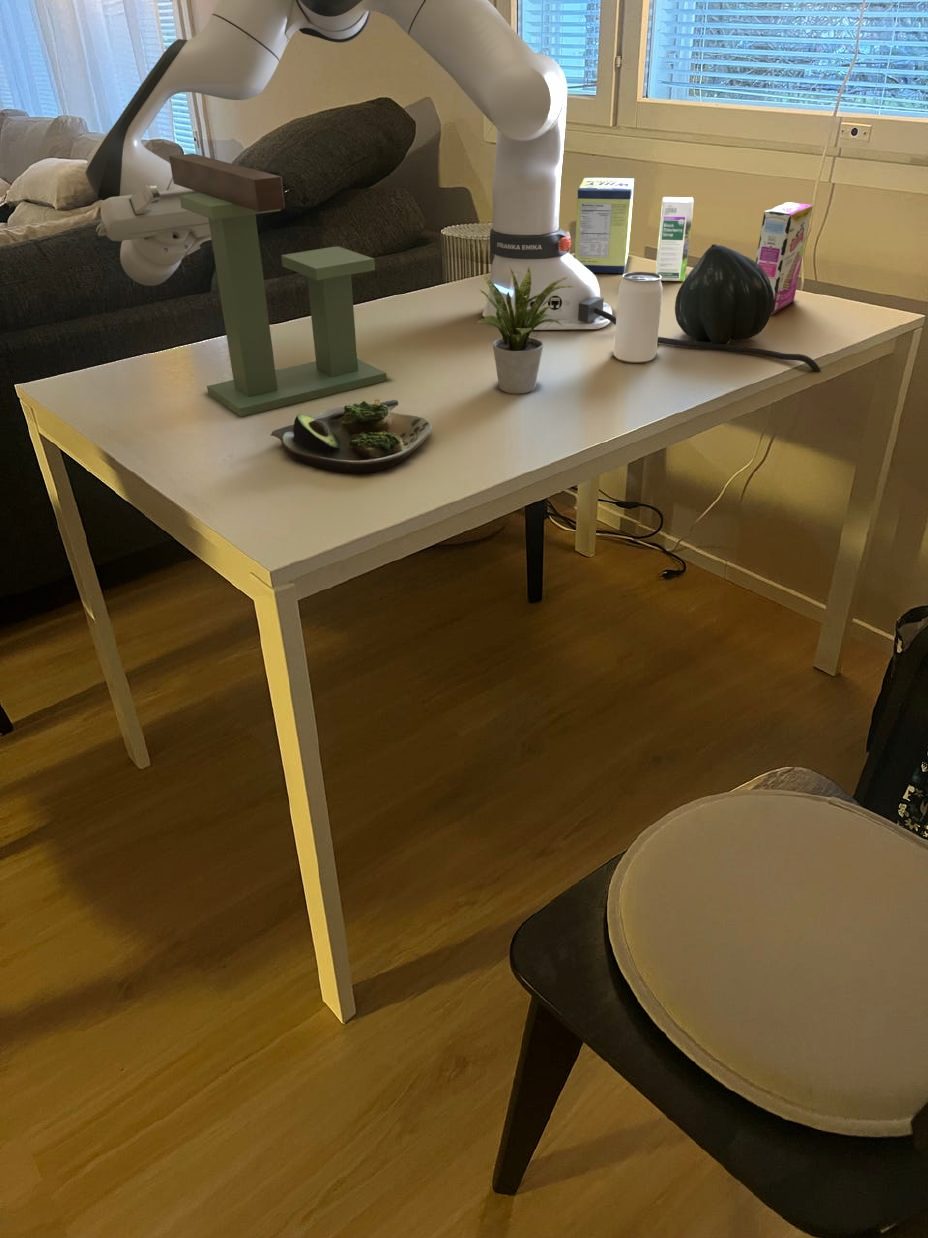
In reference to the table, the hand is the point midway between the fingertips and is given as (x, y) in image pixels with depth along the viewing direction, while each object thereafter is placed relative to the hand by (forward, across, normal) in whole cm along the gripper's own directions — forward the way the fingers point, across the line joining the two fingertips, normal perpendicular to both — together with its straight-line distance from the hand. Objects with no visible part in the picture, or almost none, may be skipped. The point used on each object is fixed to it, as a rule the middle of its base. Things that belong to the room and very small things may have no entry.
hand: (186, 186), depth 125 cm
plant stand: (-1, +6, +29) cm, 30 cm away
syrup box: (-10, +94, +24) cm, 97 cm away
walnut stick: (+12, 0, +6) cm, 13 cm away
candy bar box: (+12, +93, +37) cm, 101 cm away
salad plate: (+19, +2, +41) cm, 45 cm away
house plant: (+17, +31, +40) cm, 53 cm away
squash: (+18, +71, +41) cm, 83 cm away
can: (+16, +54, +40) cm, 69 cm away
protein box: (-24, +91, +16) cm, 96 cm away
